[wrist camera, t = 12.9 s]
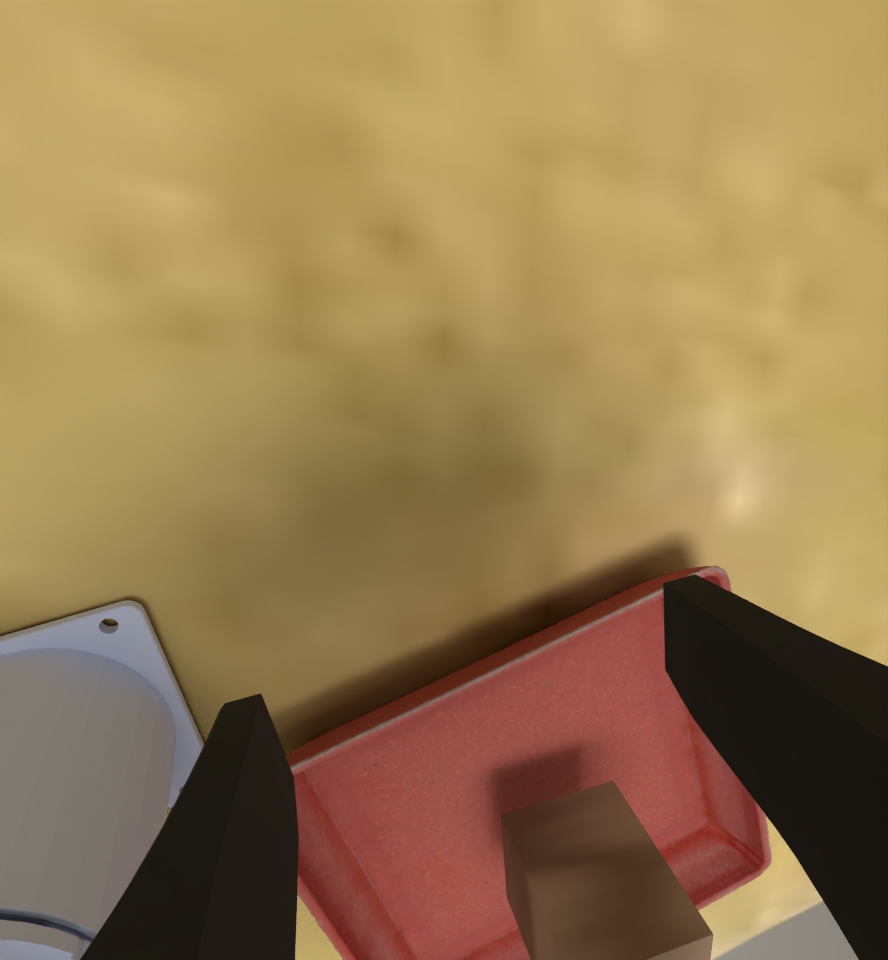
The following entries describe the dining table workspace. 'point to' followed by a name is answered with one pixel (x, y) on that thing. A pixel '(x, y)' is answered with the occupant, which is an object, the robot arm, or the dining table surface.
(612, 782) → the walnut block
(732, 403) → the dining table surface
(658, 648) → the plant saucer
